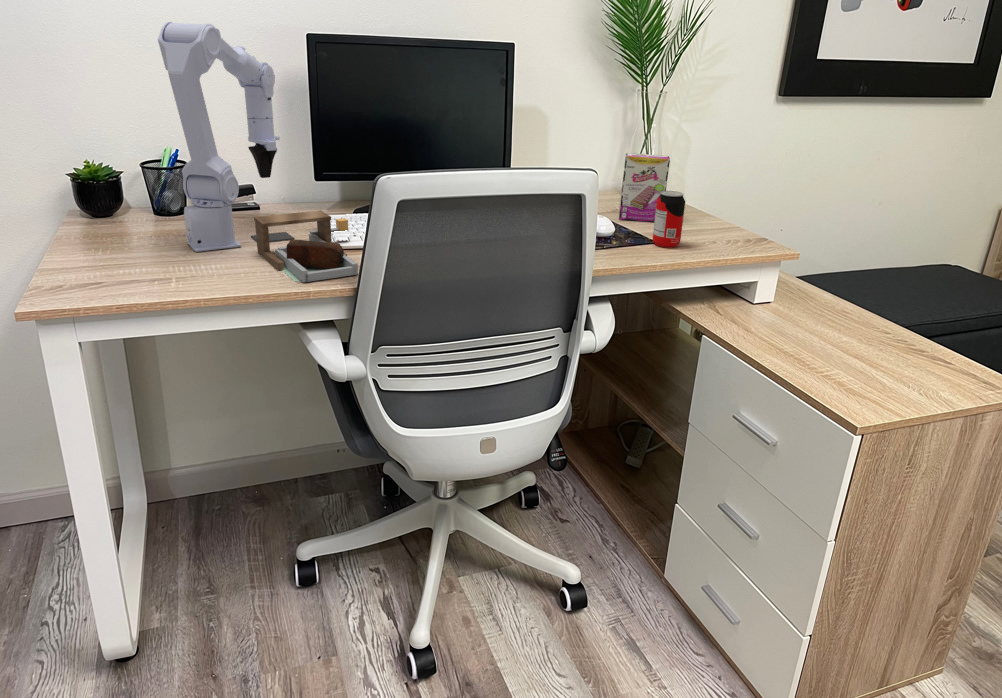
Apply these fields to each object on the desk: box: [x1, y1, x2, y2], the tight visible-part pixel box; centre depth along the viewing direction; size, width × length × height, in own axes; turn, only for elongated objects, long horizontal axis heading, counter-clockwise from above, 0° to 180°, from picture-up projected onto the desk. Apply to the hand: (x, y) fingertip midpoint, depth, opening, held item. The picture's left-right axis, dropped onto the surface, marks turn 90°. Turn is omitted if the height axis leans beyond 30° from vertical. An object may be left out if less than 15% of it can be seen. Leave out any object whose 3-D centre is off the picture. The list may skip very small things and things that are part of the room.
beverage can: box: [652, 190, 686, 249], centre depth 177 cm, size 6×6×12 cm
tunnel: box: [253, 210, 348, 272], centre depth 160 cm, size 14×14×8 cm
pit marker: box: [250, 231, 295, 243], centre depth 174 cm, size 8×6×1 cm
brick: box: [286, 239, 345, 269], centre depth 154 cm, size 11×4×5 cm, turn 92°
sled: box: [274, 217, 359, 283], centre depth 160 cm, size 18×25×5 cm
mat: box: [281, 266, 342, 283], centre depth 154 cm, size 13×10×1 cm
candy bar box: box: [618, 152, 671, 223], centre depth 198 cm, size 11×5×16 cm, turn 82°
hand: (265, 177), depth 184 cm, fingers closed
